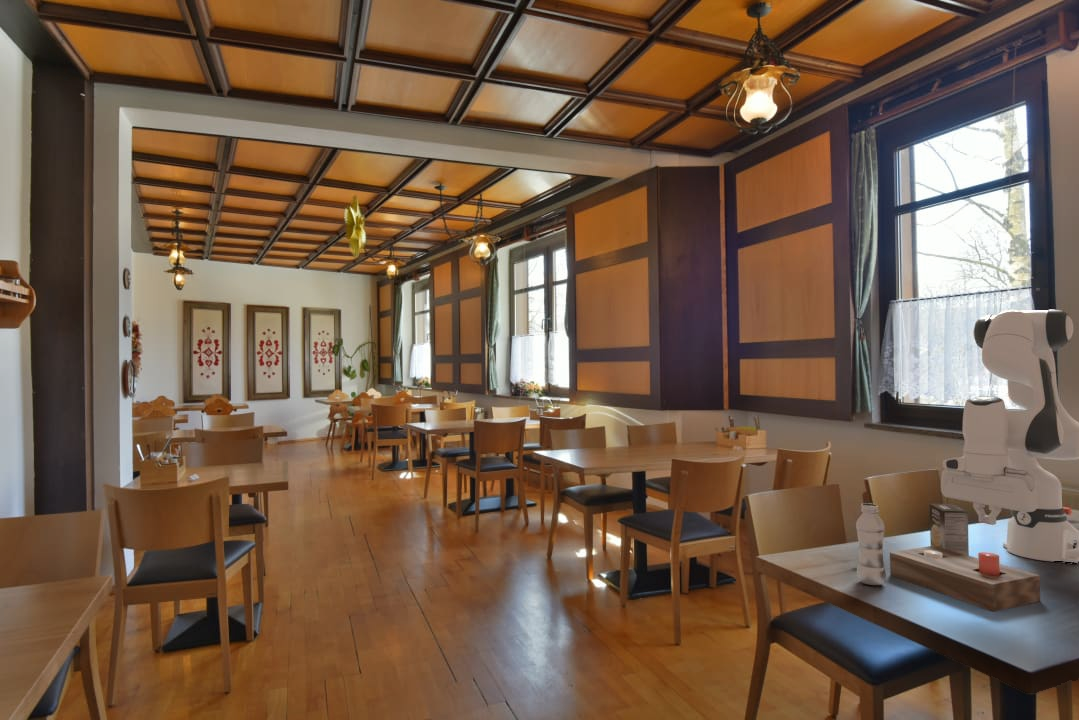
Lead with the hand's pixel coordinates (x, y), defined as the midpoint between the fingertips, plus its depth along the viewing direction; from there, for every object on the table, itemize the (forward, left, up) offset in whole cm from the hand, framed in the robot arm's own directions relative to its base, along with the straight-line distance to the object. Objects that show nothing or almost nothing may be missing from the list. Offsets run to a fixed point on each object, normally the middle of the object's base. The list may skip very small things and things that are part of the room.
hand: (987, 523), depth 143 cm
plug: (0, -14, -17) cm, 22 cm away
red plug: (0, 0, -14) cm, 14 cm away
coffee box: (-14, -20, -18) cm, 30 cm away
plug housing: (0, -7, -18) cm, 19 cm away
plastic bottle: (+18, -17, -18) cm, 30 cm away
